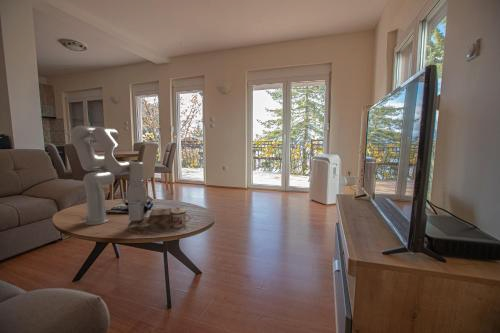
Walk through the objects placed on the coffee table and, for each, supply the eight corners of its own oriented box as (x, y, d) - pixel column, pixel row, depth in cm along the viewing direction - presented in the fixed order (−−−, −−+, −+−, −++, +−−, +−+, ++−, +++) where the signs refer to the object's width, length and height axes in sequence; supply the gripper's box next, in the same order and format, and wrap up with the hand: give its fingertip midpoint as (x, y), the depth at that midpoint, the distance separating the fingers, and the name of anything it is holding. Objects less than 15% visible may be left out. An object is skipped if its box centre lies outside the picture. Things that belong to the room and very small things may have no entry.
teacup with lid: (168, 227, 140) (167, 208, 139) (174, 222, 149) (174, 204, 148) (187, 228, 139) (187, 209, 137) (193, 223, 148) (192, 205, 146)
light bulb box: (136, 214, 143) (135, 197, 142) (147, 214, 144) (147, 197, 142) (128, 220, 132) (127, 202, 131) (140, 220, 133) (140, 202, 132)
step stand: (126, 235, 127) (126, 219, 126) (133, 225, 143) (132, 210, 142) (169, 232, 133) (169, 216, 132) (171, 222, 149) (171, 208, 148)
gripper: (118, 185, 130) (120, 216, 132) (152, 184, 134) (153, 214, 136) (122, 182, 137) (123, 212, 139) (154, 181, 142) (155, 210, 144)
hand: (138, 212), depth 138 cm, fingers closed on light bulb box, 7 cm apart
